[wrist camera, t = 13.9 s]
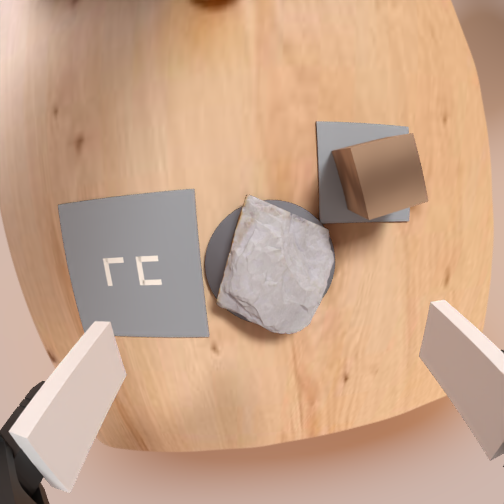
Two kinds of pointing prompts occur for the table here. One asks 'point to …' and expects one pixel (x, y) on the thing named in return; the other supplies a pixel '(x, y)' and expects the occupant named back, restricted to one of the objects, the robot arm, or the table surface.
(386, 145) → the walnut block
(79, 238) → the tile
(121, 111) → the table surface
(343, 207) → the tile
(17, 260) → the table surface
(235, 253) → the stone
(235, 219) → the coaster
